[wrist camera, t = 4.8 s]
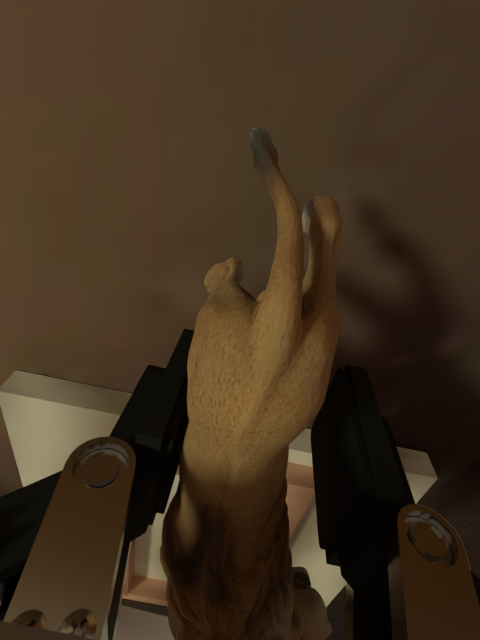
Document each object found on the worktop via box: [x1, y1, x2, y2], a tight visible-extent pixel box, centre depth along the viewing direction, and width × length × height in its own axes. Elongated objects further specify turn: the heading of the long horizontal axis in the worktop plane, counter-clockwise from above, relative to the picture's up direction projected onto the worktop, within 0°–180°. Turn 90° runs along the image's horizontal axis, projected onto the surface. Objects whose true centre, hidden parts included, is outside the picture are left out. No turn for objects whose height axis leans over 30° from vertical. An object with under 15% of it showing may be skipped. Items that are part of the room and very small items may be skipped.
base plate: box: [0, 370, 438, 607], centre depth 22 cm, size 22×20×3 cm
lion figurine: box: [160, 127, 343, 640], centre depth 8 cm, size 12×4×7 cm, turn 3°
